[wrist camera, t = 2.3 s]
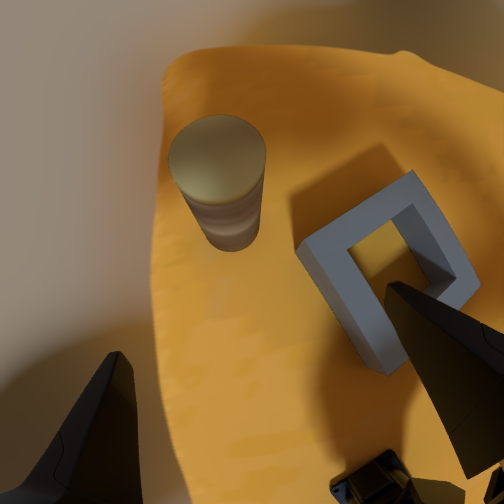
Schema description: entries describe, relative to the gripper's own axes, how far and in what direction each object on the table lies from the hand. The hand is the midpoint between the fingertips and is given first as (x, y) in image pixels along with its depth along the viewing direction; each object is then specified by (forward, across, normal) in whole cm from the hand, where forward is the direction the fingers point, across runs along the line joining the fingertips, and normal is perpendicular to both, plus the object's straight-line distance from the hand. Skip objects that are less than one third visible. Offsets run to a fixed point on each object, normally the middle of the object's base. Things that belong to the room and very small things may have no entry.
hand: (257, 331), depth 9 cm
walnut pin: (+15, 0, +4) cm, 15 cm away
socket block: (+10, -11, +9) cm, 17 cm away
